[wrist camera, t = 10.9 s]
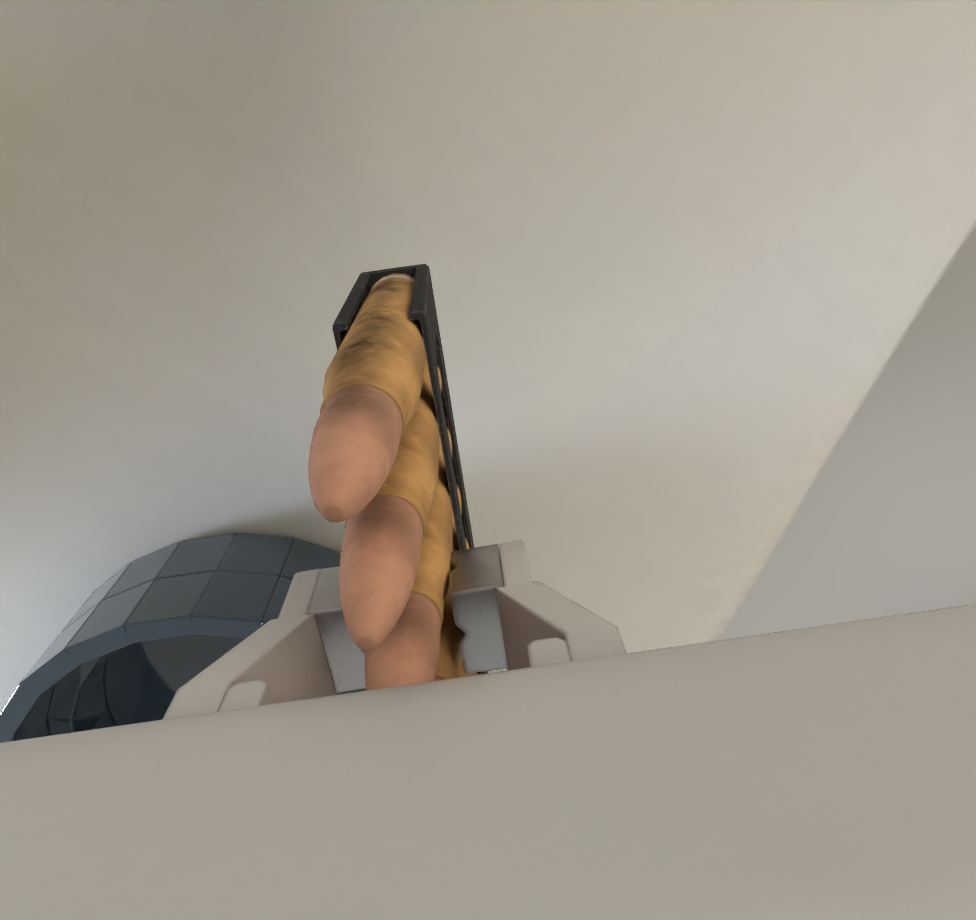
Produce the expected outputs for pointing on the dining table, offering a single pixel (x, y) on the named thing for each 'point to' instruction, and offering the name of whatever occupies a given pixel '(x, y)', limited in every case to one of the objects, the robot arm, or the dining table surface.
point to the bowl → (156, 632)
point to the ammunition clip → (393, 478)
